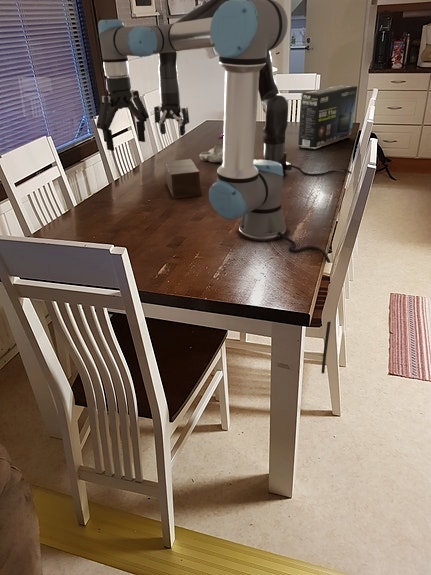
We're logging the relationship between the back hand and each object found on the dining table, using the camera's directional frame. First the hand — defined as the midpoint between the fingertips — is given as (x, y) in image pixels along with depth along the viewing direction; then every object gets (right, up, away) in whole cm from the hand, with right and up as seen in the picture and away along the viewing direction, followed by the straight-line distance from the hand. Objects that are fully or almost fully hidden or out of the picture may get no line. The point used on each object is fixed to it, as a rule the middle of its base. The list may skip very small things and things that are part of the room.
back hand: (172, 134), depth 182 cm
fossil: (+18, +2, +42) cm, 46 cm away
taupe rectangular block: (+4, -21, +6) cm, 22 cm away
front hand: (-13, -13, -28) cm, 34 cm away
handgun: (+26, +22, +76) cm, 83 cm away
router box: (+76, +16, +62) cm, 99 cm away
